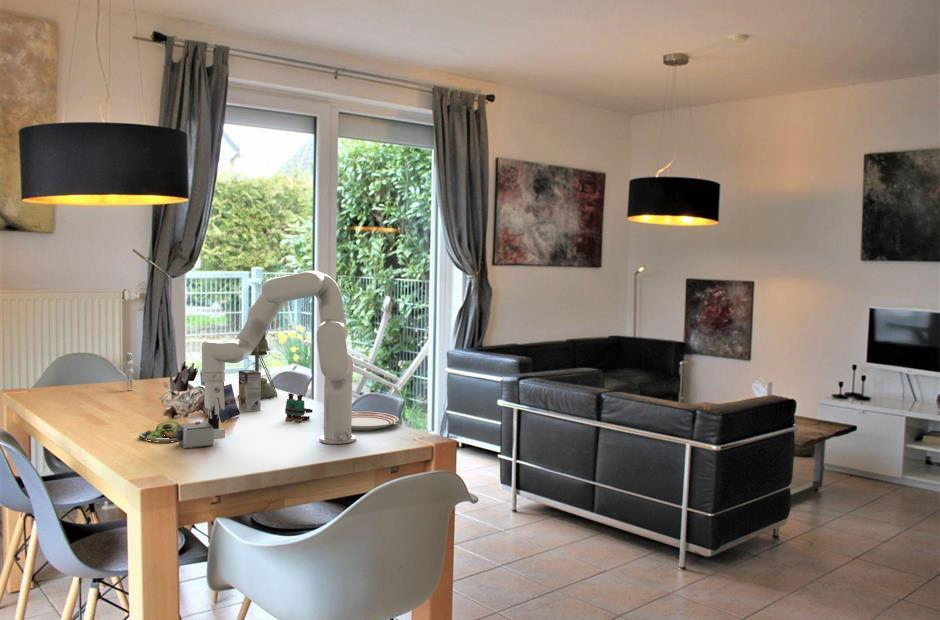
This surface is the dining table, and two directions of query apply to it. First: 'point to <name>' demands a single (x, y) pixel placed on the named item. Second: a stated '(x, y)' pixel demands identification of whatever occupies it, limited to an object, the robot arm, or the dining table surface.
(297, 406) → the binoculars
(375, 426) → the dinner plate
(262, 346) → the green desk lamp
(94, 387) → the dining table surface
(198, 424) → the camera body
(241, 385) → the coffee box
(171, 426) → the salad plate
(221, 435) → the side door
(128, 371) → the human figurine
